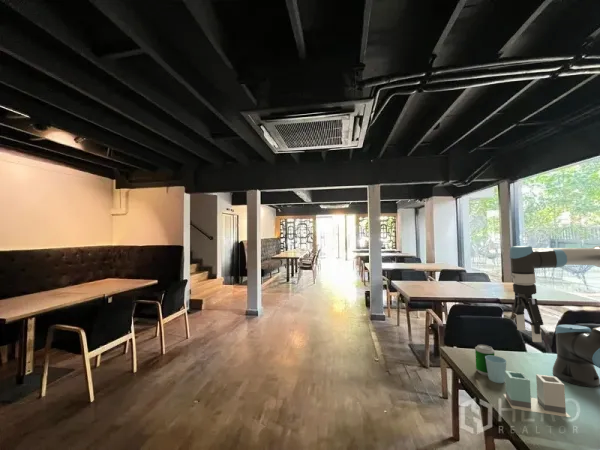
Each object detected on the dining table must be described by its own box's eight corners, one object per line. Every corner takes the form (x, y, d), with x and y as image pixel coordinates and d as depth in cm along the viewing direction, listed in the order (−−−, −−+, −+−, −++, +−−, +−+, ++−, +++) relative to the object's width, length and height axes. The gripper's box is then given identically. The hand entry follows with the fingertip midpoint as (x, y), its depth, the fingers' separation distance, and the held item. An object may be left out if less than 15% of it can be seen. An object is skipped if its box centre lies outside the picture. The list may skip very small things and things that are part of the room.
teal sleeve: (524, 399, 110) (523, 372, 110) (531, 408, 104) (529, 380, 104) (506, 396, 112) (504, 370, 112) (511, 405, 106) (510, 377, 106)
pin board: (556, 405, 108) (555, 385, 108) (571, 421, 99) (569, 399, 99) (503, 397, 114) (502, 378, 114) (512, 412, 104) (511, 391, 105)
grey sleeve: (557, 404, 106) (555, 376, 107) (565, 413, 101) (564, 384, 101) (537, 401, 108) (536, 374, 109) (544, 410, 103) (543, 382, 103)
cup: (508, 389, 119) (507, 364, 120) (486, 385, 123) (485, 360, 124) (506, 381, 126) (505, 357, 126) (485, 377, 130) (484, 354, 130)
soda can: (498, 377, 129) (497, 350, 130) (480, 376, 131) (479, 349, 131) (490, 369, 137) (489, 344, 137) (473, 368, 138) (472, 343, 139)
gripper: (501, 278, 131) (506, 325, 130) (527, 289, 107) (532, 346, 106) (521, 278, 129) (525, 326, 128) (551, 289, 105) (557, 348, 104)
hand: (528, 335), depth 117 cm, fingers open, 13 cm apart
